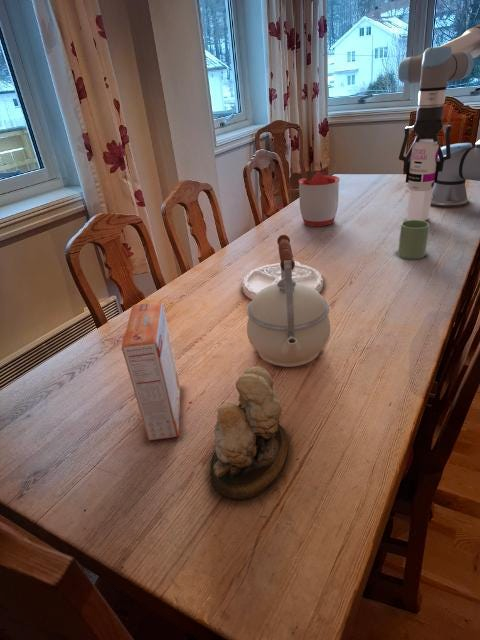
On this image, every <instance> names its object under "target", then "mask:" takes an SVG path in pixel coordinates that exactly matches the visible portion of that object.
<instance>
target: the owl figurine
mask: <svg viewBox="0 0 480 640" xmlns="http://www.w3.org/2000/svg"><path fill="white" fill-rule="evenodd" d="M235 389H236V391H237V393H238V394H239V396H238V404H235V403H230V402H228V403H224V404H221V405H220V406H219V408H217V414H216V422H215V425H214V429H213V434H214V436H215V437H214V445H215V447H214V452H213V455H212V457H211V463H210V470H209V471H210V473H209V474H210V481H211V482H212V484H213V486H214V487H213V488H214V489H215V491H216V492H217V493H218V494H219V495H221V496H223V497H225V498H226V499H230V500H232V501H248V500H252V499H255V498H256V497H258V496H260V495H261V494H263V493H264V492H266V491H267V490H268V489H269V488H270V487H271V486H272V485H273V484H274V483H275V481H277V480H278V478H279V476H281V473H282V471H283V470H284V467H285V464H286V462H287V459H288V454H289V438H288V435H287V432H286V430H285V428H284V427H283V426H282V425H281V420H280V419H281V417H282V407H281V401H280V399H279V396H278V392H277V390H276V389H275V388H274V380H273V378H272V376H271V374H270V373H269V372H268V371H267V370H266V369H265V368H264V367H262V366H259V365H258V366H257V365H253V366H250V367H248V368H246V369H245V370H244V371H243V373H242V374H241V375H240V376H238V379H237V380H236V382H235Z"/></svg>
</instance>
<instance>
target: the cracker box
mask: <svg viewBox="0 0 480 640" xmlns="http://www.w3.org/2000/svg"><path fill="white" fill-rule="evenodd" d="M121 351H122V354H123V357H124V361H125V364H126V369H127V371H128V375H129V378H130V382H131V385H132V389H133V392H134V396H135V399H136V402H137V406H138V410H139V413H140V417H141V421H142V423H143V427H144V430H145V435H146V438H147V440H148V441H149V442H150V441H156V440H164V439H173V438H179V436H180V411H181V390H182V389H181V382H180V379H179V373H178V369H177V364H176V360H175V355H174V351H173V346H172V341H171V337H170V331H169V327H168V322H167V316H166V313H165V308H164V303H163V301H156V302H149V303H148V302H147V303H138V304H132V306H131V309H130V314H129V317H128V321H127V324H126V329H125V333H124V337H123V340H122V344H121Z"/></svg>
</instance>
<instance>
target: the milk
mask: <svg viewBox="0 0 480 640" xmlns="http://www.w3.org/2000/svg"><path fill="white" fill-rule="evenodd" d="M432 190H433V188H432V189H431V190H428V191H413V190H410V189H409V193H408V194H409V195H408V203H407V213H406V221H408V220H421V221H427V220H429V218H430V210H431V205H430V204H431V197H432Z"/></svg>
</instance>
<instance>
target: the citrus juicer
mask: <svg viewBox="0 0 480 640" xmlns="http://www.w3.org/2000/svg"><path fill="white" fill-rule="evenodd" d="M298 184H299V185H298V187H299V188H298V192H299V194H298V195H299V196H298V197H299V210H300V214H301V218H302V221H303V222H304V224H305V225H307V226H310V227H314V228H315V227H322V226H329V225H332V224H333V223H334V221H335V219H336V215H337V212H338V207H339V192H340V191H339V190H340V189H339V188H340V177H338V176H336V175H329V174H324V173H323V172H321V171H317V172H316V173H315V174H314V175H313V176H312V178H311V180H310V181H308V179H307V178H305V177H302V178H299V179H298Z"/></svg>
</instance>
